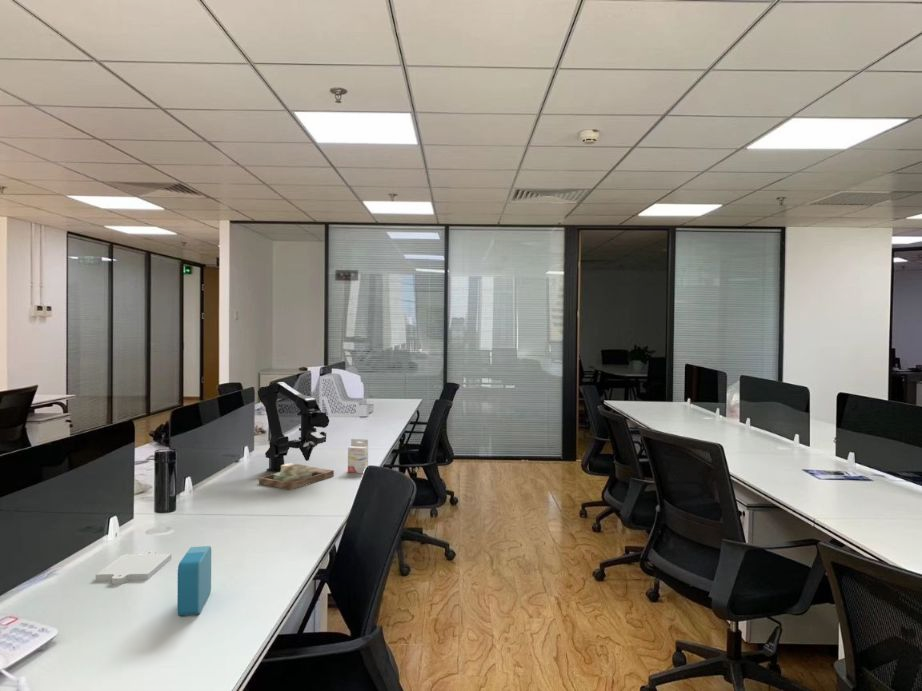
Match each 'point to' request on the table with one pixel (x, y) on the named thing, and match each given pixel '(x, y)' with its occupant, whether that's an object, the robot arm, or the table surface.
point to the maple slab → (293, 469)
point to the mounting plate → (134, 567)
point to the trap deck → (296, 478)
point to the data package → (194, 580)
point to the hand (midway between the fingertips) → (307, 460)
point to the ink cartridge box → (357, 456)
